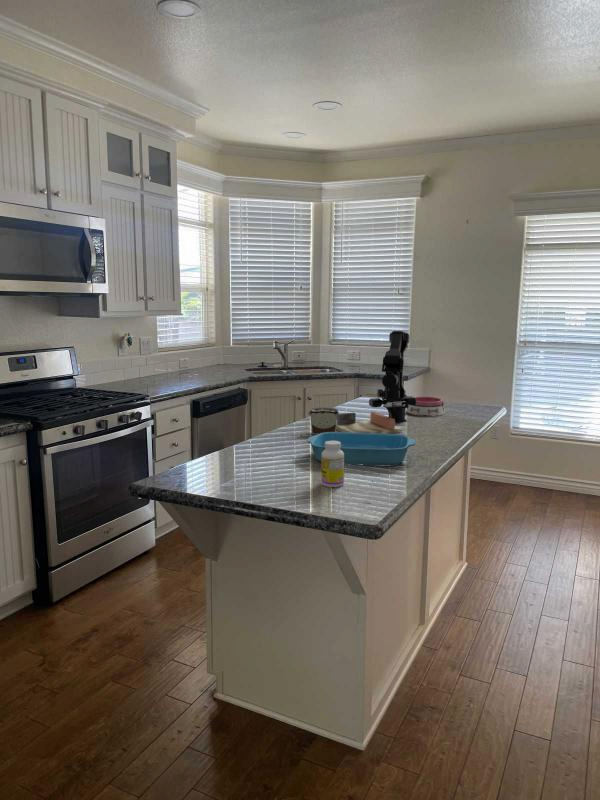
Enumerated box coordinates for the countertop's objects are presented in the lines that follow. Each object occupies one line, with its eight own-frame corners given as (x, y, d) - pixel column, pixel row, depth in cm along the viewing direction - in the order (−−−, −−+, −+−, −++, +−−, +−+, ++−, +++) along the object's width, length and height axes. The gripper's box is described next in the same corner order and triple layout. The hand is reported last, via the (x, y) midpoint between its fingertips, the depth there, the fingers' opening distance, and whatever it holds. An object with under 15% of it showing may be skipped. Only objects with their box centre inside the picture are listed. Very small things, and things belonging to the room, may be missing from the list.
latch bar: (369, 421, 256) (369, 411, 256) (374, 420, 257) (374, 411, 257) (389, 429, 240) (389, 419, 240) (394, 428, 241) (395, 418, 241)
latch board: (376, 423, 261) (376, 409, 260) (402, 432, 243) (402, 417, 242) (332, 427, 252) (332, 414, 251) (356, 437, 234) (356, 422, 233)
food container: (339, 431, 246) (339, 407, 244) (338, 434, 240) (339, 410, 238) (309, 430, 247) (309, 406, 246) (308, 433, 241) (308, 409, 240)
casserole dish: (301, 465, 197) (301, 444, 196) (313, 448, 218) (313, 429, 217) (414, 471, 189) (414, 449, 188) (415, 453, 211) (416, 433, 209)
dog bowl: (444, 417, 274) (445, 403, 273) (404, 415, 279) (404, 401, 278) (446, 410, 292) (446, 396, 291) (408, 408, 297) (408, 395, 296)
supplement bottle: (320, 481, 178) (320, 439, 176) (341, 480, 178) (342, 439, 176) (322, 488, 171) (322, 445, 169) (345, 487, 172) (345, 444, 170)
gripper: (407, 381, 252) (407, 417, 255) (365, 383, 249) (365, 419, 252) (416, 384, 241) (416, 422, 244) (372, 387, 238) (373, 425, 241)
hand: (392, 422), depth 245 cm, fingers closed
